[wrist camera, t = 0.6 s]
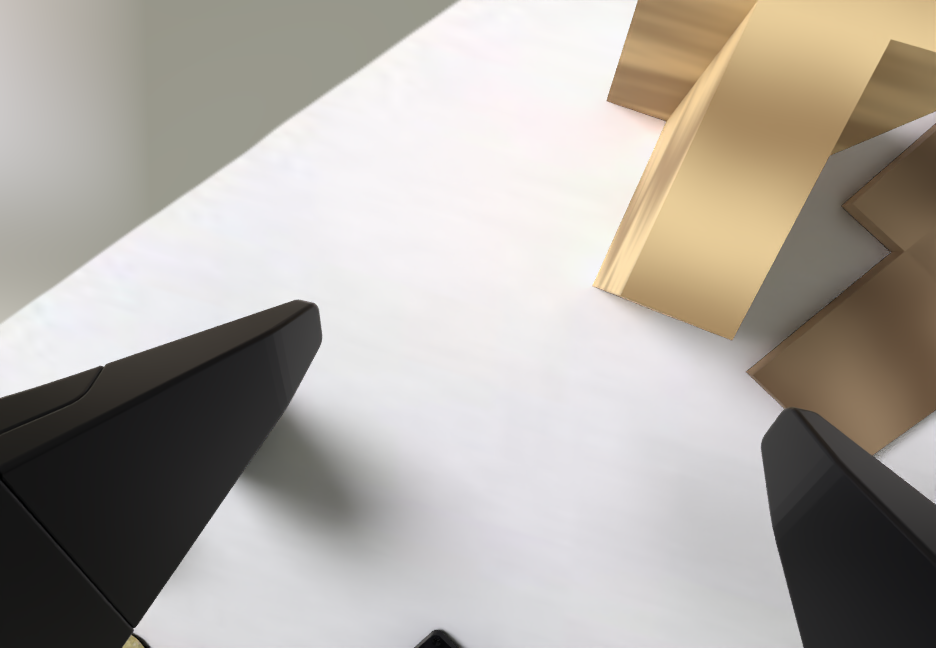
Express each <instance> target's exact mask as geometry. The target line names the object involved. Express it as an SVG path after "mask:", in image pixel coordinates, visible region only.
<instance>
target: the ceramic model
mask: <svg viewBox="0 0 936 648" xmlns="http://www.w3.org/2000/svg"><path fill="white" fill-rule="evenodd" d="M123 648H144V647H143V645H142V644H141V643H140V642H139V641H138V640H137V639H136V638H135V637H134V636H132V635H131V636H130V637H129V639H128V640H127V642H126V643H125V645H124V646H123Z"/></svg>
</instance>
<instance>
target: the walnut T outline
mask: <svg viewBox="0 0 936 648" xmlns="http://www.w3.org/2000/svg"><path fill="white" fill-rule="evenodd" d="M842 207H843V208H844V209H845V210H846V211H847V212H848V213H849V214H850V215H851V216H853V217H854V218H855V219H856V220H857V221H858V222H859V223H860V224H861V225H862V226H863V227H865V228H866V229H867V230H868V231H869V232H870V233H871V234H872V235H873V236H874V237H875V238H877V239H878V240H879V241H880V242H881V243H882V244H883V245H884V246H885V247H886V248H887V249H889V250H890V251H891V253H890V254H889V255H887V256H886V257H885V258H884V259H883V260H881V261H880V262H879V263H878V264H877V265H875V266H874V267H873V268H872V269H870V270H869V271H868V272H867V273H866V274H864V275H863V276H862V277H861V278H860V279H858V280H857V281H856V282H855V283H853V284H852V285H851V286H850V287H849V288H847V289H846V290H845V291H844V292H843V293H841V294H840V295H839V296H838V297H836V298H835V299H834V300H833V301H832V302H830V303H829V304H828V305H827V306H825V307H824V308H823V309H822V310H821V311H819V312H818V313H817V314H816V315H815V316H813V317H812V318H811V319H810V320H808V321H807V322H806V323H805V324H804V325H802V326H801V327H800V328H799V329H798V330H796V331H795V332H794V333H793V334H791V335H790V336H789V337H788V338H787V339H785V340H784V341H783V342H782V343H781V344H779V345H778V346H777V347H776V348H774V349H773V350H772V351H771V352H770V353H768V354H767V355H766V356H765V357H764V358H762V359H761V360H760V361H759V362H757V363H756V364H755V365H754V366H753V367H751V368H750V369H749V370H748V371H746V372H747V373H748V374H749V375H750V376H751V377H752V378H753V379H754V380H755V381H756V382H757V383H758V384H759V385H760V386H761V387H762V388H763V389H764V390H765V391H766V392H767V393H768V394H770V395H771V396H772V397H773V398H774V399H775V400H776V401H777V402H778V403H779V404H780V405H781V406H782V407H783V408H784V409H786V408H788V407H796V408H800V409H805V410H809V411H813V412H816V413H817V414H819V415H820V416H822V417H823V418H824V419H825V420H827V421H828V422H829V423H831V424H832V425H833V426H835V427H836V428H837V429H838V430H840V431H841V432H842V433H844V434H845V435H846V436H847V437H849V438H850V439H851V440H853V441H854V442H855V443H857V444H858V445H859V446H860V447H862V448H863V449H864V450H866V451H867V452H868V453H869V454H871V455H874V454H875V453H876V452H878V451H879V450H881V449H882V448H883V447H885V446H886V445H888V444H889V443H890V442H892V441H893V440H895V439H896V438H897V437H899V436H900V435H902V434H903V433H904V432H906V431H907V430H909V429H910V428H911V427H913V426H914V425H916V424H917V423H918V422H920V421H921V420H923V419H924V418H925V417H927V416H928V415H929V414H931V413H932V412H934V411H935V410H936V124H935V125H933V126H932V127H931V128H930V129H929V130H928V131H927V132H925V133H924V134H923V135H922V136H921V137H920V138H919V139H917V140H916V141H915V142H914V143H913V144H912V145H911V146H909V147H908V148H907V149H906V150H905V151H904V152H903V153H901V154H900V155H899V156H898V157H897V158H896V159H895V160H893V161H892V162H891V163H890V164H889V165H888V166H887V167H885V168H884V169H883V170H882V171H881V172H880V173H879V174H877V175H876V176H875V177H874V178H873V179H872V180H871V181H869V182H868V183H867V184H866V185H865V186H864V187H862V188H861V189H860V190H859V191H858V192H857V193H856V194H854V195H853V196H852V197H851V198H850V199H849V200H848V201H846V202H845V203H844V204H843V205H842Z"/></svg>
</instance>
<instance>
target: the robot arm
mask: <svg viewBox="0 0 936 648" xmlns="http://www.w3.org/2000/svg"><path fill="white" fill-rule="evenodd" d="M321 342H322V330H321V322H320V314H319V308H318V306H317V305H316V304H315V303H312V302H307V301H303V300H294V301H291V302H288V303H285V304H282V305H279V306H276V307H273V308H270V309H267V310H264V311H261V312H258V313H255V314H252V315H249V316H246V317H243V318H241V319H238V320H235V321H232V322H229V323H226V324H223V325H220V326H217V327H214V328H211V329H208V330H205V331H202V332H199V333H196V334H193V335H190V336H187V337H185V338H182V339H179V340H176V341H173V342H170V343H167V344H164V345H161V346H158V347H155V348H152V349H149V350H146V351H143V352H140V353H137V354H134V355H131V356H128V357H126V358H123V359H120V360H117V361H114V362H111V363H108V364H106V365H105V366H104V367H103V366H99V367H96V368H93V369H90V370H87V371H84V372H81V373H78V374H75V375H72V376H69V377H66V378H63V379H60V380H57V381H54V382H51V383H48V384H44V385H41V386H38V387H35V388H32V389H29V390H25V391H22V392H18V393H15V394H12V395H8V396H5V397H2V398H0V648H123V646H124V645H125V643H126V642H127V640H128V639H129V637H130V636H131V634H132V633H133V631H134V629H133V628H135V627H136V626H137V625H138V624H139V622H140V621H141V619H142V618H143V616H144V615H145V613H146V612H147V611H148V609H149V608H150V606H151V605H152V603H153V602H154V600H155V599H156V597H157V596H158V595H159V593H160V592H161V590H162V589H163V587H164V586H165V584H166V583H167V581H168V580H169V579H170V577H171V576H172V574H173V573H174V571H175V570H176V568H177V567H178V565H179V564H180V563H181V561H182V560H183V558H184V557H185V555H186V554H187V552H188V551H189V549H190V548H191V547H192V545H193V544H194V542H195V541H196V539H197V538H198V536H199V535H200V533H201V532H202V531H203V529H204V528H205V526H206V525H207V523H208V522H209V520H210V519H211V517H212V516H213V515H214V513H215V512H216V510H217V509H218V507H219V506H220V504H221V503H222V501H223V500H224V499H225V497H226V496H227V494H228V493H229V491H230V490H231V488H232V487H233V485H234V484H235V483H236V481H237V480H238V478H239V477H240V475H241V474H242V472H243V471H244V469H245V468H246V467H247V465H248V464H249V462H250V461H251V459H252V458H253V456H254V455H255V453H256V452H257V451H258V449H259V448H260V446H261V445H262V443H263V442H264V440H265V439H266V437H267V436H268V435H269V433H270V432H271V430H272V429H273V427H274V426H275V424H276V423H277V421H278V420H279V419H280V417H281V416H282V414H283V413H284V411H285V410H286V408H287V406H288V405H289V403H290V401H291V400H292V398H293V396H294V394H295V392H296V391H297V389H298V387H299V385H300V383H301V381H302V379H303V377H304V376H305V374H306V372H307V370H308V368H309V366H310V364H311V362H312V361H313V359H314V357H315V355H316V353H317V351H318V349H319V347H320V345H321ZM761 452H762V459H763V466H764V473H765V480H766V488H767V495H768V502H769V509H770V516H771V521H772V527H773V531H774V536H775V540H776V544H777V548H778V552H779V556H780V559H781V563H782V567H783V571H784V575H785V578H786V582H787V586H788V590H789V594H790V598H791V601H792V605H793V609H794V613H795V617H796V620H797V624H798V628H799V632H800V636H801V639H802V643H803V647H804V648H936V505H935V504H934V503H933V502H932V501H930V500H929V499H928V498H926V497H925V496H924V495H923V494H921V493H920V492H919V491H917V490H916V489H915V488H913V487H912V486H911V485H910V484H908V483H907V482H906V481H904V480H903V479H902V478H901V477H899V476H898V475H897V474H895V473H894V472H893V471H891V470H890V469H889V468H888V467H886V466H885V465H884V464H882V463H881V462H880V461H879V460H877V459H876V458H875V457H873V456H872V455H871V454H869V453H868V452H867V451H866V450H864V449H863V448H862V447H860V446H859V445H858V444H857V443H855V442H854V441H853V440H851V439H850V438H849V437H847V436H846V435H845V434H844V433H842V432H841V431H840V430H838V429H837V428H836V427H835V426H833V425H832V424H831V423H829V422H828V421H827V420H825V419H824V418H823V417H822V416H820V415H819V414H817V413H816V412H813V411H809V410H805V409H800V408H796V407H788V408H786V409H784V410H783V411H782V412H781V414H780V415H779V416H778V418H777V419H776V420H775V422H774V423H773V424H772V426H771V427H770V428H769V430H768V431H767V432H766V434H765V435H764V437H763V439H762V443H761ZM436 639H438V640H439V641H437V640H436ZM414 648H458V647H457V646H456V645H455V644H454V643H453V642H452V641H451V640H450V639H449V638H448V637H447V636H446V635H445V634H444V633H443V632H441V631H440V630H434V631H432V632H431V633H430V634H429V635H428V636H427V637H425V638H424V639H423V640H422V641H421V642H420V643H419V644H418V645H417V646H415V647H414Z"/></svg>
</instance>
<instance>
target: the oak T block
mask: <svg viewBox="0 0 936 648" xmlns="http://www.w3.org/2000/svg"><path fill="white" fill-rule="evenodd" d="M607 101H608V102H611V103H614V104H617V105H620V106H623V107H626V108H629V109H632V110H635V111H638V112H641V113H644V114H647V115H650V116H653V117H656V118H659V119H661V120H664V121H666V124H665V126H664V128H663V130H662V132H661V135H660V137H659V139H658V141H657V144H656V146H655V148H654V150H653V152H652V155H651V157H650V159H649V161H648V164H647V166H646V168H645V170H644V172H643V175H642V177H641V179H640V181H639V184H638V186H637V188H636V190H635V192H634V195H633V197H632V199H631V201H630V204H629V206H628V208H627V210H626V212H625V215H624V217H623V219H622V221H621V224H620V226H619V228H618V230H617V232H616V235H615V237H614V239H613V241H612V243H611V246H610V248H609V250H608V252H607V255H606V257H605V259H604V261H603V263H602V266H601V268H600V270H599V272H598V275H597V277H596V279H595V281H594V283H593V286H594V287H596V288H599V289H601V290H604V291H606V292H609V293H611V294H614V295H616V296H619V297H621V298H624V299H626V300H629V301H631V302H634V303H636V304H639V305H641V306H644V307H646V308H649V309H651V310H654V311H656V312H659V313H662V314H664V315H667V316H670V317H672V318H675V319H677V320H680V321H683V322H685V323H688V324H690V325H693V326H696V327H698V328H701V329H704V330H706V331H709V332H711V333H714V334H717V335H719V336H722V337H725V338H727V339H730V340H733V338H734V336H735V334H736V332H737V330H738V328H739V327H740V325H741V323H742V321H743V319H744V317H745V315H746V313H747V311H748V309H749V308H750V306H751V304H752V302H753V300H754V298H755V296H756V294H757V292H758V291H759V289H760V287H761V285H762V283H763V281H764V279H765V277H766V275H767V273H768V272H769V270H770V268H771V266H772V264H773V262H774V260H775V258H776V256H777V254H778V253H779V251H780V249H781V247H782V245H783V243H784V241H785V239H786V237H787V235H788V234H789V232H790V230H791V228H792V226H793V224H794V222H795V220H796V218H797V217H798V215H799V213H800V211H801V209H802V207H803V205H804V203H805V201H806V199H807V198H808V196H809V194H810V192H811V190H812V188H813V186H814V184H815V182H816V180H817V179H818V177H819V175H820V173H821V171H822V169H823V167H824V165H825V163H826V161H827V160H828V158H829V156H830V155H833V154H835V153H837V152H840V151H842V150H844V149H847V148H849V147H852V146H854V145H856V144H859V143H861V142H864V141H866V140H868V139H871V138H873V137H875V136H878V135H880V134H883V133H885V132H887V131H890V130H892V129H894V128H897V127H899V126H902V125H904V124H906V123H909V122H911V121H914V120H916V119H918V118H921V117H923V116H925V115H928V114H930V113H933V112H935V111H936V0H638V2H637V5H636V9H635V12H634V15H633V18H632V21H631V24H630V28H629V31H628V34H627V37H626V40H625V44H624V47H623V50H622V53H621V56H620V59H619V63H618V66H617V69H616V72H615V75H614V79H613V82H612V85H611V88H610V91H609V94H608V98H607Z"/></svg>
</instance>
